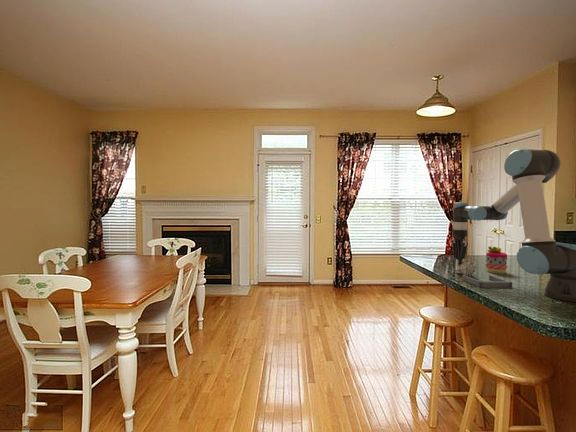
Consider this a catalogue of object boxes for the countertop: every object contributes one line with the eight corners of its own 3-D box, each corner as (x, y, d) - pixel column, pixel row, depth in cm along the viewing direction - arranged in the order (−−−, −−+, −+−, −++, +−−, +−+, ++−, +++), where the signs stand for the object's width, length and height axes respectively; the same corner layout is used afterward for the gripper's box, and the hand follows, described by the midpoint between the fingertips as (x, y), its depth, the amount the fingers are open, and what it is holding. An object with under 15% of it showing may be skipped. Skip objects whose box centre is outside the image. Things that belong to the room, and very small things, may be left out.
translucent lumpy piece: (470, 283, 178) (482, 270, 173) (455, 277, 178) (467, 264, 173) (466, 272, 186) (477, 260, 180) (452, 266, 186) (463, 254, 180)
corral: (512, 287, 155) (512, 282, 155) (480, 287, 155) (480, 282, 155) (491, 279, 171) (491, 275, 170) (462, 279, 170) (462, 274, 170)
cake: (489, 269, 198) (490, 244, 198) (509, 272, 190) (510, 246, 190) (482, 271, 192) (483, 245, 191) (503, 274, 184) (504, 248, 183)
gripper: (473, 230, 180) (471, 272, 181) (460, 228, 193) (458, 268, 194) (459, 230, 180) (458, 272, 181) (447, 228, 193) (446, 268, 194)
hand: (458, 270), depth 187 cm, fingers closed
